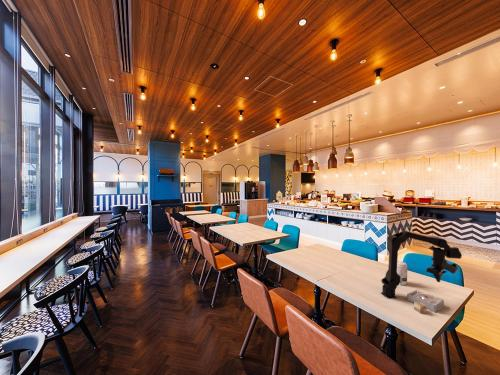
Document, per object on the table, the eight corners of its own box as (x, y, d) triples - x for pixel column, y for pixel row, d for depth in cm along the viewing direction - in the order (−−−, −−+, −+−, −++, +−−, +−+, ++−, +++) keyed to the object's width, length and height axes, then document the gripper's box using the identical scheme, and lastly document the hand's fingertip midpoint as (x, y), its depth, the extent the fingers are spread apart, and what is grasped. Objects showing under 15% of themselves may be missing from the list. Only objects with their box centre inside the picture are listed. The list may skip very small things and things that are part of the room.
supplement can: (391, 279, 158) (391, 260, 158) (404, 281, 156) (404, 261, 155) (395, 284, 150) (396, 264, 150) (409, 286, 148) (409, 265, 148)
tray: (434, 310, 119) (434, 304, 119) (409, 300, 130) (409, 294, 129) (442, 304, 125) (442, 298, 125) (418, 295, 135) (418, 289, 135)
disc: (424, 303, 124) (424, 299, 124) (415, 296, 131) (415, 293, 131) (436, 303, 124) (436, 299, 124) (426, 296, 131) (427, 293, 131)
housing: (435, 312, 118) (435, 305, 117) (407, 300, 130) (407, 294, 130) (443, 306, 123) (443, 299, 123) (416, 295, 136) (416, 289, 136)
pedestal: (420, 313, 117) (420, 306, 117) (414, 309, 121) (414, 302, 121) (426, 313, 117) (426, 306, 117) (420, 308, 121) (420, 302, 121)
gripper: (450, 264, 117) (449, 291, 118) (461, 258, 127) (461, 283, 127) (426, 258, 127) (425, 283, 127) (438, 253, 136) (438, 276, 137)
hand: (438, 281), depth 129 cm, fingers closed
